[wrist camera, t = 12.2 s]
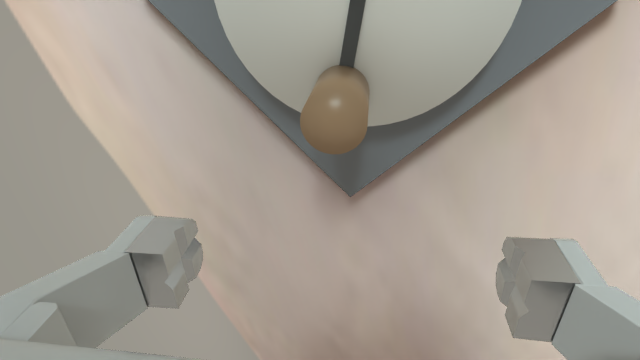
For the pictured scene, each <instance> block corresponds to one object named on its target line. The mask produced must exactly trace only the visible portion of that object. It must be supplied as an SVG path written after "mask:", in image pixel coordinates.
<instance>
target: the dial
mask: <svg viewBox="0 0 640 360" xmlns="http://www.w3.org/2000/svg"><path fill="white" fill-rule="evenodd" d="M214 2H215V5H216V9H217V12H218V16H219V19H220V21H221V24H222V26H223V28H224V31H225V33H226V36H227V38H228V40H229V42H230V43H231V45H232V47H233V49H234V51H235V53H236V54H237V56H238V57H239V59H240V60H241V61H242V63H243V64H244V66H245V67H246V69H247V70H248V71H249V72H250V73H251V74H252V76H253V77H254V78H255V79H256V80H257V81H258V82H259V83H260V84H261V85H262V86H263V87H264V88H265V89H266V90H267V91H268V92H270V93H271V94H272V95H273V96H274V97H276V98H277V99H279V100H280V101H282V102H283V103H284V104H286V105H287V106H289V107H291V108H293V109H295V110H296V111H298V112H300V113H301V116H300V127H301V131H302V133H303V136H304V137H305V139H306V140H307V142H308V143H309V144H310V145H311V146H312V147H314V148H315V149H317V150H319V151H321V152H323V153H327V154H343V153H346V152H349V151H351V150H353V149H354V148H356V147H357V146H358V145H359V144H360V143H361V142H362V140H363V139H364V137H365V134H366V131H367V126H378V125H386V124H391V123H395V122H399V121H403V120H407V119H409V118H412V117H415V116H417V115H420V114H422V113H425V112H427V111H428V110H430V109H432V108H434V107H436V106H438V105H440V104H441V103H443V102H444V101H446V100H447V99H449V98H450V97H452V96H453V95H455V94H456V93H457V92H458V91H460V90H461V89H462V88H463V87H464V86H465V85H467V84H468V83H469V82H470V81H471V80H472V79H473V78H474V77H475V76H476V75H477V74H478V73H479V72H480V71H481V70H482V68H483V67H484V66H485V65H486V64H487V63H488V61H489V60H490V59H491V57H492V56H493V55H494V53H495V52H496V51H497V49H498V48H499V46H500V45H501V43H502V41H503V40H504V38H505V36H506V34H507V33H508V31H509V29H510V27H511V25H512V23H513V21H514V19H515V16H516V14H517V12H518V9H519V7H520V5H521V2H522V0H214Z"/></svg>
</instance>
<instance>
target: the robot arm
mask: <svg viewBox="0 0 640 360" xmlns="http://www.w3.org/2000/svg"><path fill="white" fill-rule="evenodd" d="M197 233H198V228H197V225H196V221H194V220H193V219H189V218H176V217H164V216H148V215H147V216H146V215H141V216H138V217H136V218H135V219H134V220H133V222H132V223H131V224H130V225H129V226H128V227H127V228H126V229H125V230H124V231H123V232H122V233H121V234H120V235H119V237H117V238H116V240H115V241H114V242H113V243H112V244H111V245H110V246H109V247H108V248H107V249H106V250H105V251H98V252H96V253H93V254H91V255H89V256H87V257H85V258H83V259H80V260H78V261H76V262H74V263H72V264H70V265H68V266H65V267H64V268H61V269H59V270H57V271H55V272H52V273H50V274H48V275H46V276H44V277H42V278H40V279H37V280H35V281H33V282H31V283H29V284H27V285H24V286H22V287H20V288H18V289H16V290H13V291H11V292H9V293H7V294H5V295H3V296H1V297H0V360H203V359H194V358H184V357H174V356H165V355H156V354H146V353H136V352H127V351H116V350H107V349H98V348H96V347H98V346H99V345H100V344H101V343H103V342H104V341H105V340H106V339H108V338H109V337H111V336H112V335H113V334H114V333H116V332H117V331H119V330H120V329H121V328H123V327H124V326H125V325H127V324H128V323H129V322H130V321H132V320H133V319H134V318H136V317H137V316H138V315H140V314H141V313H142V312H144V311H145V310H146V309H148V307H161V308H179V306H180V305H181V303H182V301H183V300H184V298H185V296H186V294H187V293H188V291H189V287H188V282H190V281H192V280H193V279H195V278H196V277H197V275H198V273H199V271H200V269H201V265H202V261H203V250H202V246H201V244H200V243H199V242H198V241H197V240H196V238H195V236H196V234H197ZM502 252H503V254H504V257H505V258H504V259H503V260H502V261H501V262H499V263H498V266H497V271H496V289H497V294H498V297H499V300H500V301H501V302H502V303H503V304H504V305H505V306H507V309H506V313H505V317H506V320H507V323H508V325H509V328H510V331H511V334H512V336H513V338H519V339H528V340H537V341H546V342H552V345H553V346H554V347H555V348H556V349H557V350H558V351H559V352H560V353H561V354H562V355H563V356H564V357H565V358H566V359H567V360H640V301H639V300H637V299H635V298H634V297H632V296H630V295H629V294H627V293H625V292H624V291H622V290H620V289H619V288H617V287H611V286H608V285H607V283H606V282H605V280H604V279H603V278H602V276H601V275H600V273H599V272H598V271H597V269H596V268H595V266H594V265H593V263H592V262H591V261H590V259H589V258H588V256H587V255H586V254H585V252H584V251H583V249H582V248H581V246H580V245H579V244H578V242H577V241H575V240H573V239H557V238H550V239H541V238H521V237H506V239H505V241H504V243H503V247H502Z"/></svg>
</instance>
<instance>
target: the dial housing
mask: <svg viewBox="0 0 640 360" xmlns="http://www.w3.org/2000/svg"><path fill="white" fill-rule="evenodd" d="M148 1H149V2H150V3H151V4H153V5H154V6H155V7H156V8H157V9H158V10H159V11H160V12H161V13H162V14H163V15H164V16H165V17H166V18H167V19H168V20H169V21H170V22H171V23H172V24H173V25H174V26H175V27H176V28H177V29H178V30H179V31H180V32H181V33H182V34H183V35H184V36H185V37H186V38H187V39H188V40H189V41H191V42H192V43H193V44H194V45H195V46H196V47H197V48H198V49H199V50H200V51H201V52H202V53H203V54H204V55H205V56H206V57H207V58H208V59H209V60H210V61H211V62H212V63H213V64H214V65H215V66H216V67H217V68H218V69H219V70H220V71H221V72H222V73H223V74H224V75H225V76H226V77H228V78H229V79H230V80H231V81H232V82H233V83H234V84H235V85H236V86H237V87H238V88H239V89H240V90H241V91H242V92H243V93H244V94H245V95H246V96H247V97H248V98H249V99H250V100H251V101H252V102H253V103H254V104H255V105H256V106H257V107H258V108H259V109H260V110H261V111H262V112H263V113H264V114H266V115H267V116H268V117H269V118H270V119H271V120H272V121H273V122H274V123H275V124H276V125H277V126H278V127H279V128H280V129H281V130H282V131H283V132H284V133H285V134H286V135H287V136H288V137H289V138H290V139H291V140H292V141H293V142H294V143H295V144H296V145H297V146H298V147H299V148H300V149H301V150H303V151H304V152H305V153H306V154H307V155H308V156H309V157H310V158H311V159H312V160H313V161H314V162H315V163H316V164H317V165H318V166H319V167H320V168H321V169H322V170H323V171H324V172H325V173H326V174H327V175H328V176H329V177H330V178H331V179H332V180H333V181H334V182H335V183H336V184H337V185H338V186H339V187H341V188H342V189H343V190H344V191H345V192H346V193H347V194H348V195H349V196H350V197H351V196H353V195H354V194H355V193H357V192H358V191H359V190H361V189H362V188H363V187H365V186H366V185H367V184H369V183H370V182H372V181H373V180H374V179H376V178H377V177H378V176H380V175H381V174H382V173H384V172H385V171H386V170H388V169H389V168H391V167H392V166H393V165H395V164H396V163H397V162H399V161H400V160H401V159H403V158H404V157H405V156H407V155H408V154H410V153H411V152H412V151H414V150H415V149H416V148H418V147H419V146H420V145H422V144H423V143H424V142H426V141H427V140H429V139H430V138H431V137H433V136H434V135H435V134H437V133H438V132H439V131H441V130H442V129H443V128H445V127H446V126H447V125H449V124H450V123H452V122H453V121H454V120H456V119H457V118H458V117H460V116H461V115H462V114H464V113H465V112H466V111H468V110H469V109H471V108H472V107H473V106H475V105H476V104H477V103H479V102H480V101H481V100H483V99H484V98H485V97H487V96H488V95H490V94H491V93H492V92H494V91H495V90H496V89H498V88H499V87H500V86H502V85H503V84H504V83H506V82H507V81H509V80H510V79H511V78H513V77H514V76H515V75H517V74H518V73H519V72H521V71H522V70H523V69H525V68H526V67H528V66H529V65H530V64H532V63H533V62H534V61H536V60H537V59H538V58H540V57H541V56H542V55H544V54H545V53H547V52H548V51H549V50H551V49H552V48H553V47H555V46H556V45H557V44H559V43H560V42H561V41H563V40H564V39H566V38H567V37H568V36H570V35H571V34H572V33H574V32H575V31H576V30H578V29H579V28H580V27H582V26H583V25H584V24H586V23H587V22H589V21H590V20H591V19H593V18H594V17H595V16H597V15H598V14H599V13H601V12H602V11H603V10H605V9H606V8H608V7H609V6H610V5H612V4H613V3H614V2H616V1H617V0H522V2H521V5H520V7H519V9H518V12H517V14H516V16H515V19H514V21H513V23H512V25H511V27H510V29H509V31H508V33H507V34H506V36H505V38H504V40H503V41H502V43H501V45H500V46H499V48H498V49H497V51H496V52H495V53H494V55H493V56H492V57H491V59H490V60H489V61H488V63H487V64H486V65H485V66H484V67H483V68H482V70H481V71H480V72H479V73H478V74H477V75H476V76H475V77H474V78H473V79H472V80H471V81H470V82H469V83H468V84H467V85H465V86H464V87H463V88H462V89H461V90H460V91H458V92H457V93H456V94H455V95H453V96H452V97H450V98H449V99H447V100H446V101H444V102H443V103H441V104H440V105H438V106H436V107H434V108H432V109H430V110H428V111H427V112H425V113H422V114H420V115H417V116H415V117H412V118H409V119H407V120H403V121H399V122H395V123H391V124H386V125H378V126H367V131H366V134H365V137H364V139H363V140H362V142H361V143H360V144H359V145H358V146H357V147H356V148H354V149H353V150H351V151H349V152H346V153H343V154H327V153H323V152H321V151H319V150H317V149H315V148H314V147H312V146H311V145H310V144H309V143H308V142H307V140H306V139H305V137H304V136H303V133H302V131H301V127H300V116H301V113H300V112H298V111H296V110H295V109H293V108H291V107H289V106H287V105H286V104H284V103H283V102H282V101H280V100H279V99H277V98H276V97H274V96H273V95H272V94H271V93H270V92H268V91H267V90H266V89H265V88H264V87H263V86H262V85H261V84H260V83H259V82H258V81H257V80H256V79H255V78H254V77H253V76H252V74H251V73H250V72H249V71H248V70H247V69H246V67H245V66H244V64H243V63H242V61H241V60H240V59H239V57H238V56H237V54H236V53H235V51H234V49H233V47H232V45H231V43H230V42H229V40H228V38H227V36H226V33H225V31H224V28H223V26H222V24H221V21H220V19H219V16H218V12H217V9H216V5H215V2H214V0H148Z"/></svg>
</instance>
